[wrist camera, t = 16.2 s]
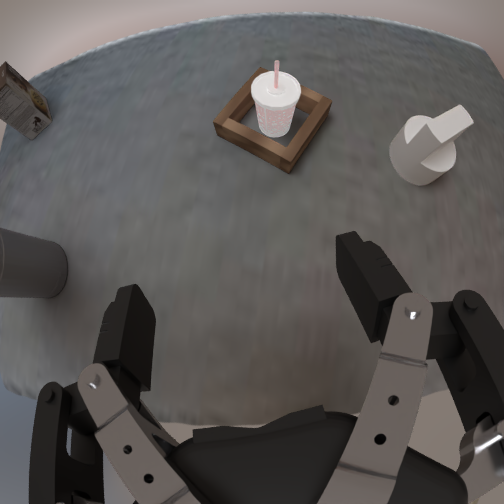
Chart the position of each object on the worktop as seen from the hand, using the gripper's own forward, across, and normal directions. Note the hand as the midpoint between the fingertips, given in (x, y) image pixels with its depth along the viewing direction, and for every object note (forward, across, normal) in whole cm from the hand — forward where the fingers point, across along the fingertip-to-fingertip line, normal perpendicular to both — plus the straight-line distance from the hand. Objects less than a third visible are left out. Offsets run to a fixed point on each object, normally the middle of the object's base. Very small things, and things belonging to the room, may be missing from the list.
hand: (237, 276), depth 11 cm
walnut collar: (+34, -8, +3) cm, 35 cm away
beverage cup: (+34, -8, +4) cm, 36 cm away
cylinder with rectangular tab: (+28, -28, +10) cm, 41 cm away
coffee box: (+49, +36, -10) cm, 62 cm away
